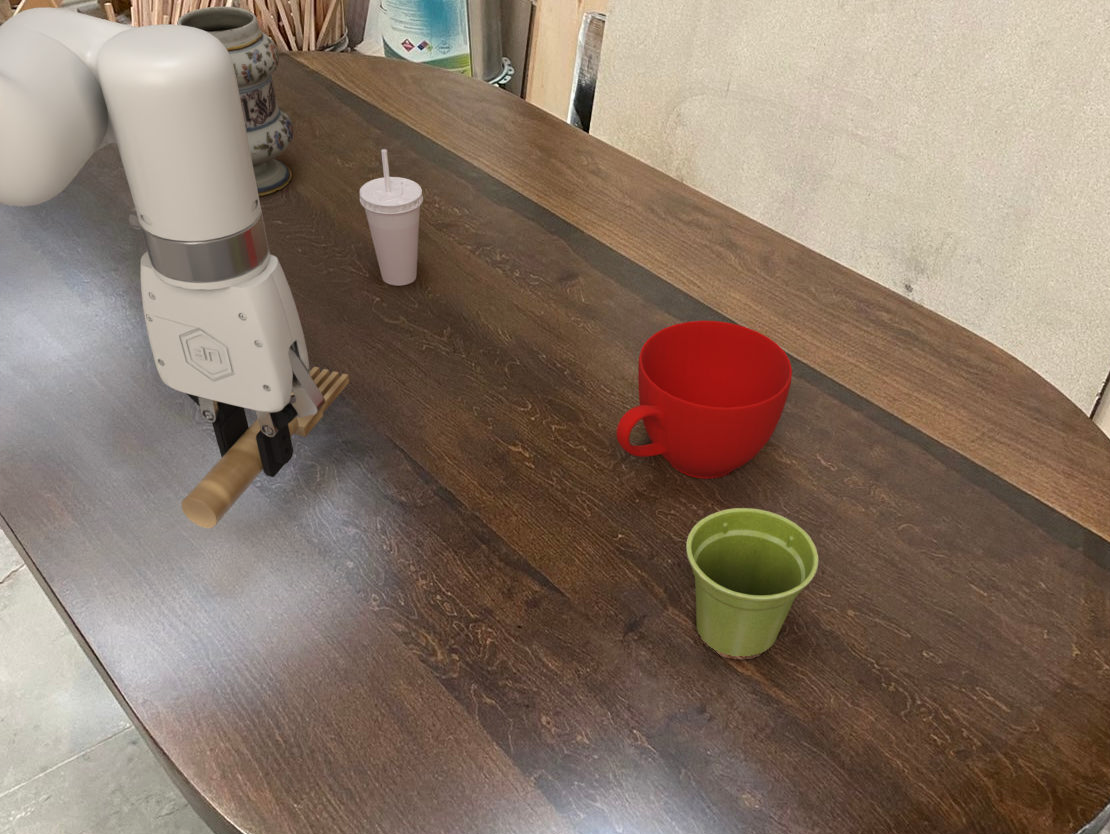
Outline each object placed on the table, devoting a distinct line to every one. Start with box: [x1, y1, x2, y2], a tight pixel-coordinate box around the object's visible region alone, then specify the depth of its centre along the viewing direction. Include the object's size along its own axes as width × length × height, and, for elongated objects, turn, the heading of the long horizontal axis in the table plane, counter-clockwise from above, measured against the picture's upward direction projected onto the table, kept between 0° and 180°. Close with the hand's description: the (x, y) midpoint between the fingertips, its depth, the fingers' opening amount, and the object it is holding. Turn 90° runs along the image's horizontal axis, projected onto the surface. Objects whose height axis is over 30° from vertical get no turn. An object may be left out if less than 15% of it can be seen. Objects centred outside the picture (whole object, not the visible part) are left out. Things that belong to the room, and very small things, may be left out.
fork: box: [181, 366, 350, 529], centre depth 83 cm, size 20×4×3 cm, turn 162°
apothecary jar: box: [176, 6, 294, 197], centre depth 123 cm, size 12×12×18 cm
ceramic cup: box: [616, 320, 793, 480], centre depth 92 cm, size 13×17×10 cm
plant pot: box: [685, 507, 819, 657], centre depth 79 cm, size 9×9×9 cm
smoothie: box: [359, 148, 424, 287], centre depth 110 cm, size 6×6×14 cm
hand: (258, 458), depth 83 cm, fingers closed on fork, 2 cm apart
